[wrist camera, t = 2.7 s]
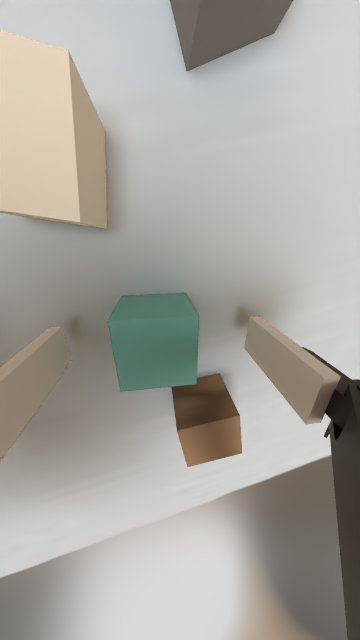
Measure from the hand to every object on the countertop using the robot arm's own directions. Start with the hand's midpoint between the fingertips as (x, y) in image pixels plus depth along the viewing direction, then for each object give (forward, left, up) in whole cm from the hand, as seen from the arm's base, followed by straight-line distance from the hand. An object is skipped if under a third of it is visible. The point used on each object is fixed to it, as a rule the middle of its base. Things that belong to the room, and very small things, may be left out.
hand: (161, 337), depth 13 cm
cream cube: (-5, +10, -3) cm, 12 cm away
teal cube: (0, 0, -3) cm, 3 cm away
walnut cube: (+4, -9, -3) cm, 10 cm away
